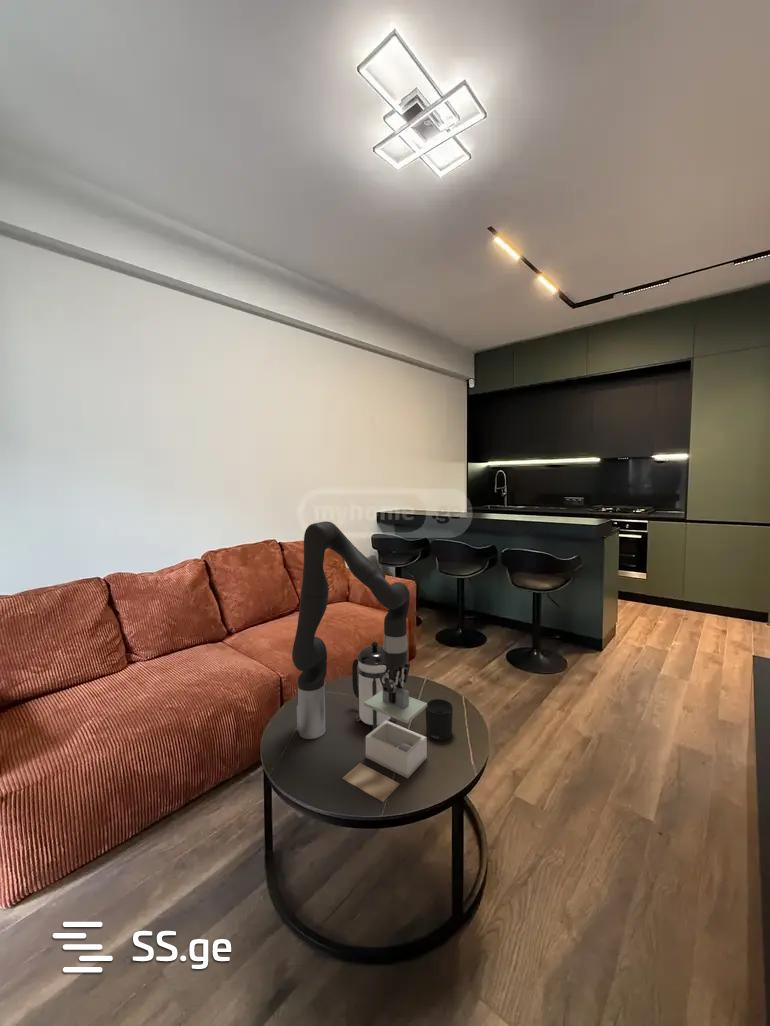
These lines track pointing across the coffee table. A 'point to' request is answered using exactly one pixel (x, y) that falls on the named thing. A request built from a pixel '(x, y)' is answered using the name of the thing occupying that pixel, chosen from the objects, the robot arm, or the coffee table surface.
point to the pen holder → (439, 719)
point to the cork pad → (371, 782)
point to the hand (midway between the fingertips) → (395, 700)
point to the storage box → (396, 748)
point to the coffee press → (369, 682)
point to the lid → (396, 705)
